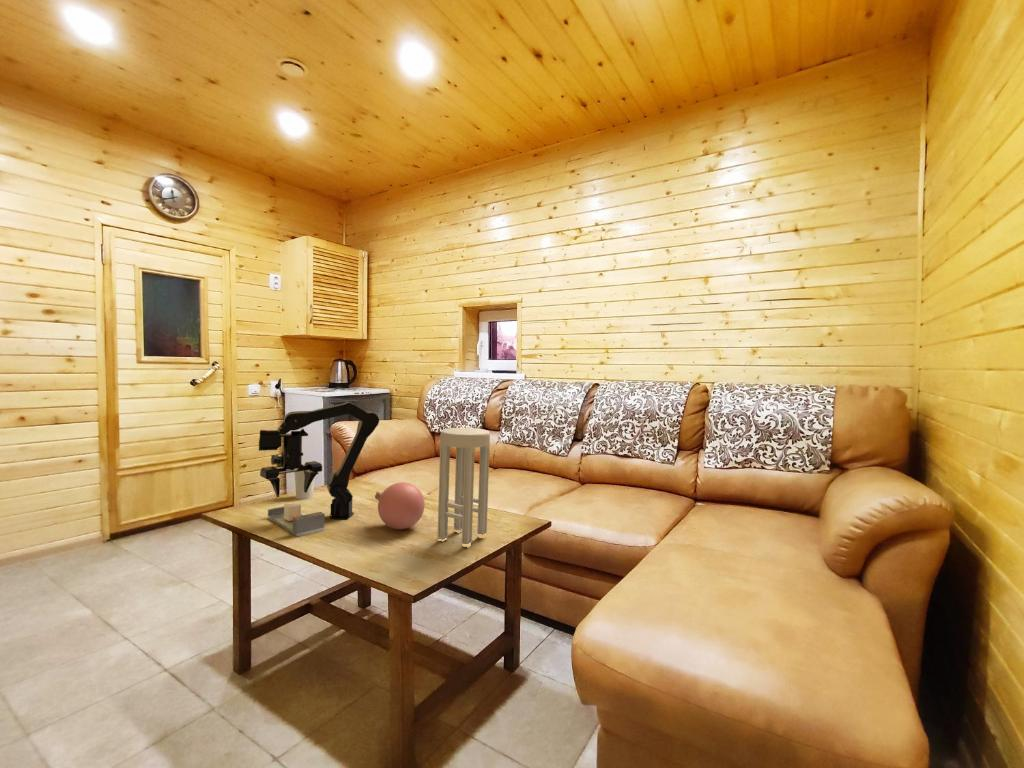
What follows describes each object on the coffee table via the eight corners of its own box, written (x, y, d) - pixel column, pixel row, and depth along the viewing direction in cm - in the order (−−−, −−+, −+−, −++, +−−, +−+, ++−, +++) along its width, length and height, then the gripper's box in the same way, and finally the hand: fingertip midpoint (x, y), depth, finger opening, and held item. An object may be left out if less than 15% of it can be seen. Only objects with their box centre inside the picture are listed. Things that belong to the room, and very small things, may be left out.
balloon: (394, 514, 175) (395, 473, 174) (433, 527, 163) (434, 482, 162) (359, 525, 162) (360, 480, 161) (398, 540, 150) (399, 491, 150)
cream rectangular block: (283, 518, 163) (284, 504, 163) (295, 515, 166) (295, 502, 166) (294, 525, 157) (294, 510, 157) (306, 522, 160) (307, 508, 160)
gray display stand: (267, 518, 167) (268, 502, 166) (294, 512, 173) (294, 497, 173) (296, 537, 150) (296, 519, 150) (324, 530, 157) (324, 513, 156)
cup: (309, 500, 188) (310, 470, 188) (289, 499, 188) (290, 469, 188) (318, 494, 196) (318, 466, 196) (299, 494, 196) (299, 465, 196)
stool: (456, 527, 164) (459, 426, 162) (495, 536, 156) (498, 430, 155) (428, 541, 150) (431, 431, 148) (469, 552, 143) (473, 436, 141)
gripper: (309, 443, 174) (308, 485, 175) (254, 448, 161) (253, 494, 161) (323, 447, 167) (322, 491, 167) (266, 453, 153) (266, 501, 154)
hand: (291, 494), depth 163 cm, fingers open, 9 cm apart
